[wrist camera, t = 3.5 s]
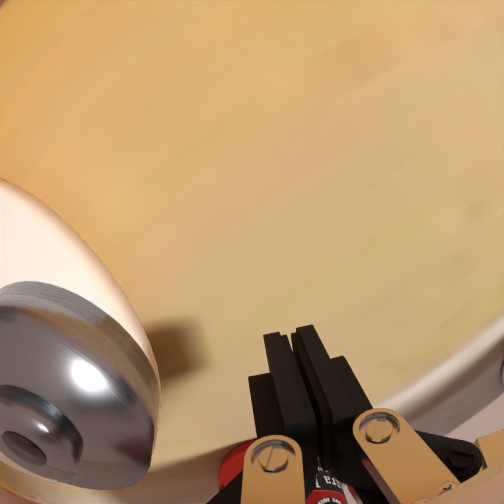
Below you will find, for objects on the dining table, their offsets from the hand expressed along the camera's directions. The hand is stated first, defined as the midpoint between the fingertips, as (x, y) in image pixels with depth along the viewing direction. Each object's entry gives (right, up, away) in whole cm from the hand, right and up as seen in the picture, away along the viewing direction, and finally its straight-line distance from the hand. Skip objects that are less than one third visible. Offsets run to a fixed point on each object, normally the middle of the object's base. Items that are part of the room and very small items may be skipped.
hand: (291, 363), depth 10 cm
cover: (-10, -2, +1) cm, 10 cm away
